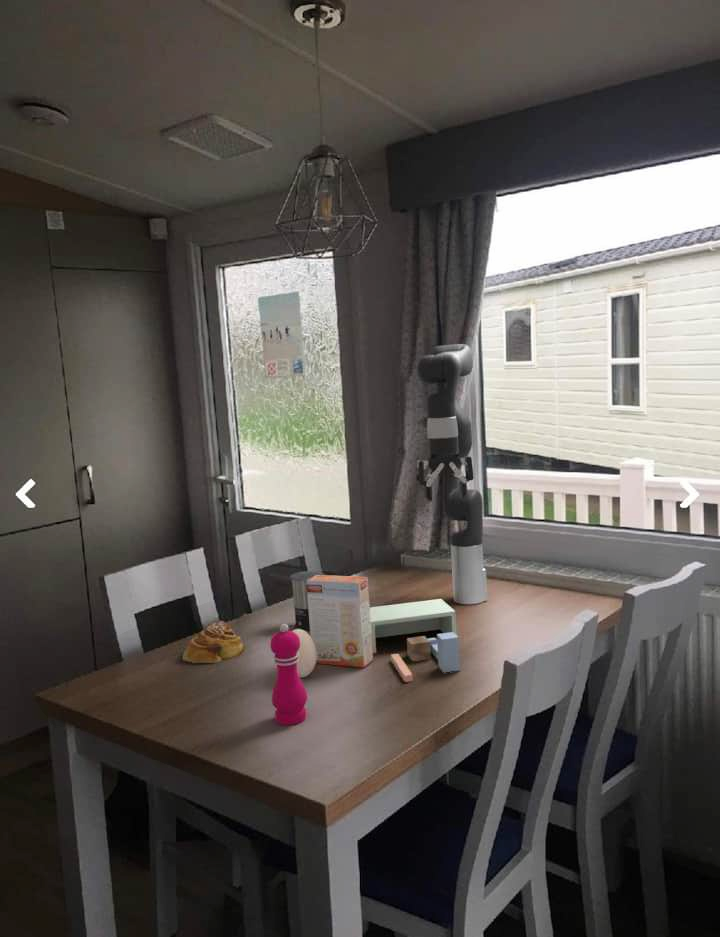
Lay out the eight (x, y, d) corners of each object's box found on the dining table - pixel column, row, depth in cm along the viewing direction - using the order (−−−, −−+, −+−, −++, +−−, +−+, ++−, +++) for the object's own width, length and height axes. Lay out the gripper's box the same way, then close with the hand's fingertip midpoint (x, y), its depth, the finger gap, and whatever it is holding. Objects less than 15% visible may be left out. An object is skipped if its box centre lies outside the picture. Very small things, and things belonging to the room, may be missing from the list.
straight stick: (398, 661, 192) (398, 653, 192) (412, 683, 179) (412, 674, 178) (391, 662, 192) (390, 654, 192) (405, 684, 178) (404, 675, 178)
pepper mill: (273, 713, 167) (266, 620, 164) (308, 709, 167) (301, 617, 165) (272, 728, 160) (265, 631, 157) (309, 724, 160) (301, 627, 158)
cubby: (442, 627, 214) (441, 598, 213) (456, 641, 203) (455, 611, 202) (362, 638, 210) (360, 608, 209) (372, 653, 198) (370, 622, 197)
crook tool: (460, 671, 183) (458, 637, 182) (430, 675, 182) (428, 641, 181) (440, 648, 198) (438, 617, 198) (412, 652, 197) (410, 621, 196)
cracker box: (374, 660, 193) (368, 575, 191) (363, 669, 188) (358, 582, 186) (323, 654, 199) (317, 573, 197) (311, 663, 194) (305, 579, 192)
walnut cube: (425, 653, 196) (424, 635, 195) (430, 659, 192) (429, 641, 191) (407, 656, 195) (406, 638, 195) (412, 662, 191) (411, 644, 190)
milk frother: (288, 630, 220) (284, 578, 219) (314, 613, 235) (310, 564, 233) (335, 634, 215) (331, 580, 213) (358, 616, 229) (355, 565, 227)
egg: (276, 680, 185) (273, 632, 183) (298, 668, 191) (294, 622, 190) (303, 685, 180) (300, 637, 179) (325, 673, 187) (321, 626, 185)
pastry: (253, 650, 207) (250, 620, 206) (208, 668, 196) (205, 637, 195) (219, 641, 215) (217, 612, 214) (174, 659, 204) (171, 628, 203)
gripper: (464, 432, 204) (467, 495, 206) (411, 436, 201) (414, 500, 203) (475, 434, 197) (478, 499, 199) (419, 438, 194) (422, 504, 196)
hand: (446, 499), depth 201 cm, fingers open, 8 cm apart
